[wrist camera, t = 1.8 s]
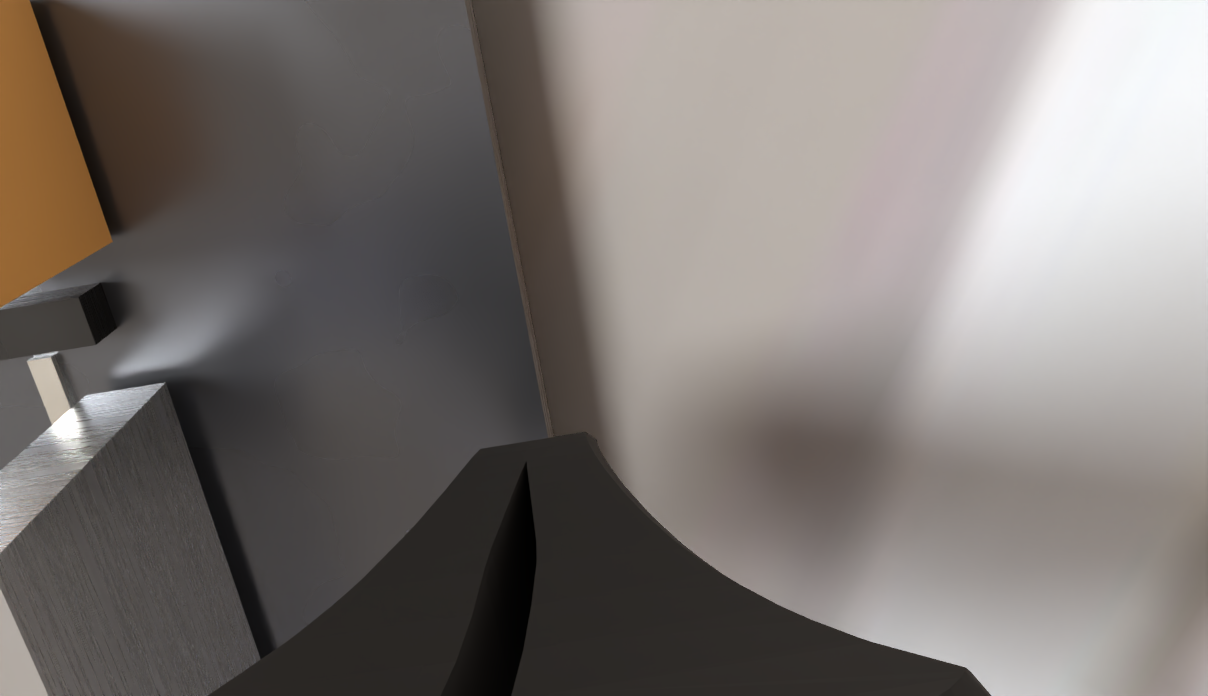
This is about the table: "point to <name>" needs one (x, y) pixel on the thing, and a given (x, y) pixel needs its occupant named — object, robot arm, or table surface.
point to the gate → (114, 560)
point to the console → (288, 271)
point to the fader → (39, 165)
